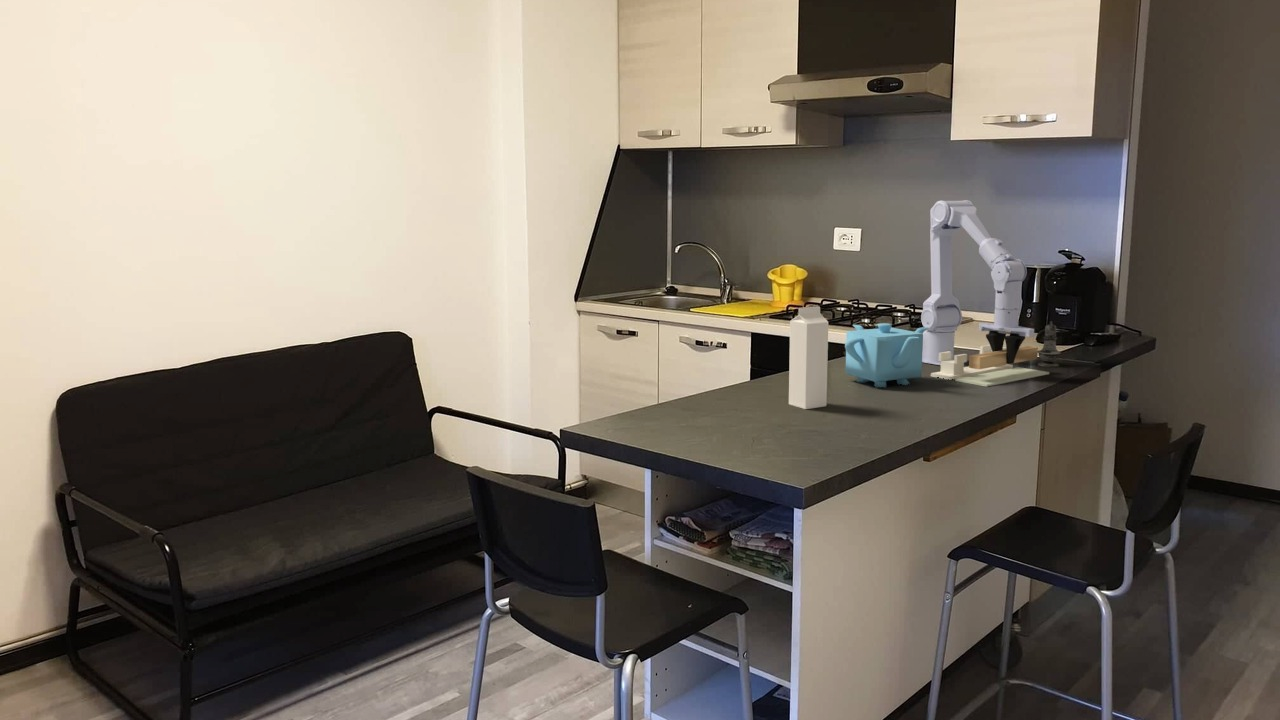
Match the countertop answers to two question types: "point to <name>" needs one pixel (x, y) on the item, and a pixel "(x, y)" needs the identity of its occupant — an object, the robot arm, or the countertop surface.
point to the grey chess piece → (1049, 347)
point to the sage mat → (1001, 376)
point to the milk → (808, 359)
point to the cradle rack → (956, 366)
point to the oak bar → (1001, 357)
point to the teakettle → (884, 354)
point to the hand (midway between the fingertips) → (1003, 362)
